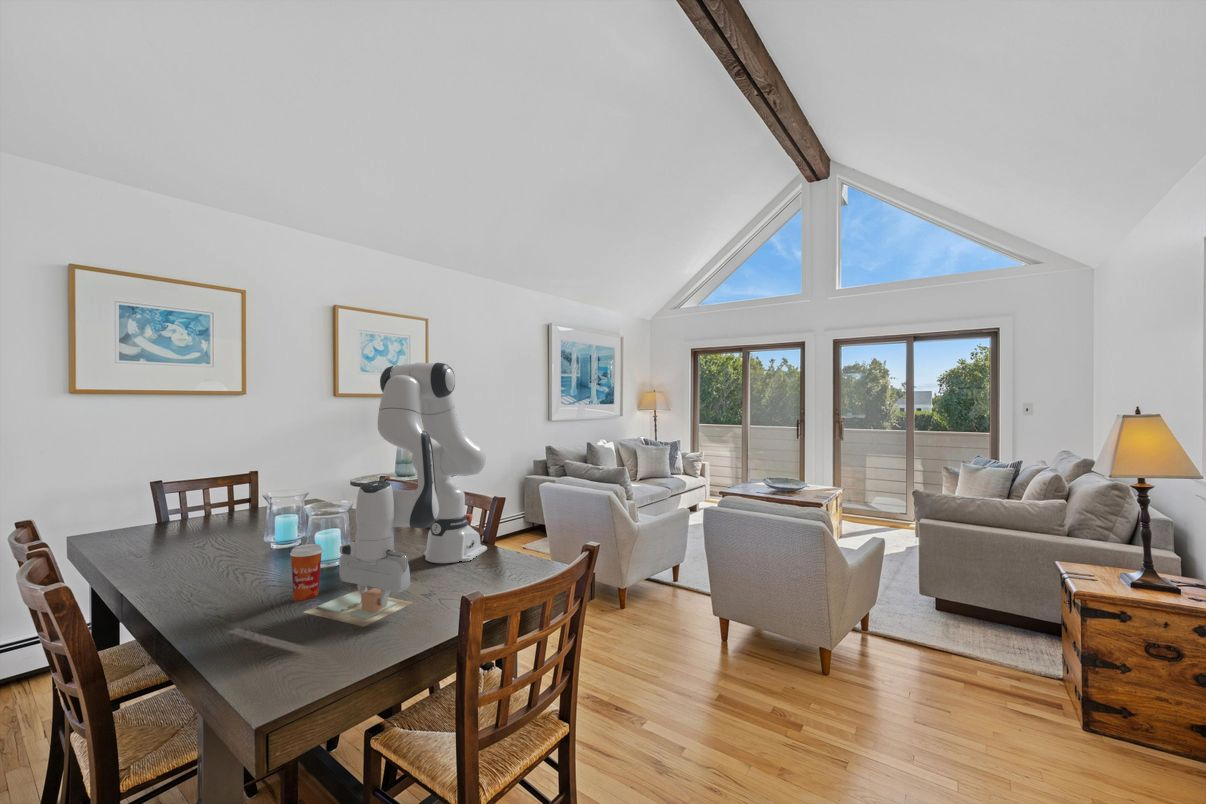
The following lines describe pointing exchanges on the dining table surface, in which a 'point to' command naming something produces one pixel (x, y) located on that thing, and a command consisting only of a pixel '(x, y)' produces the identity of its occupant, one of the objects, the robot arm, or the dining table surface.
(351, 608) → the board
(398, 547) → the dining table surface
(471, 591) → the dining table surface
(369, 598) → the stub
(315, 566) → the paper cup
